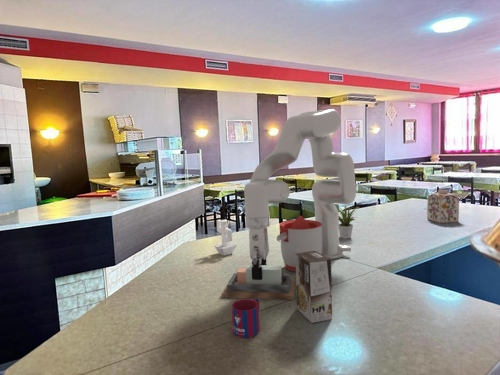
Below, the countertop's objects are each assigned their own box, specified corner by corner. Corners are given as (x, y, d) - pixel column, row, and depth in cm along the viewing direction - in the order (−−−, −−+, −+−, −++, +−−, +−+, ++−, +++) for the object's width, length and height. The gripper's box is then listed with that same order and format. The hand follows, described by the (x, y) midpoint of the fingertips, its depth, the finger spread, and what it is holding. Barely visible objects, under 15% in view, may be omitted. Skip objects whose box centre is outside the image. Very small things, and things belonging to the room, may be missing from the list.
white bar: (282, 283, 110) (281, 265, 109) (281, 288, 106) (280, 269, 105) (240, 282, 112) (239, 264, 111) (237, 287, 108) (236, 269, 108)
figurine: (224, 257, 143) (223, 223, 141) (213, 253, 150) (211, 220, 149) (238, 253, 147) (236, 220, 146) (226, 249, 155) (224, 217, 153)
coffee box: (333, 319, 88) (332, 259, 86) (311, 323, 86) (309, 262, 84) (316, 304, 96) (315, 249, 95) (296, 308, 95) (294, 252, 93)
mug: (227, 333, 83) (226, 306, 83) (251, 316, 91) (250, 292, 90) (249, 341, 79) (247, 313, 79) (271, 322, 87) (271, 297, 87)
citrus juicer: (269, 266, 130) (267, 215, 128) (307, 258, 137) (306, 210, 135) (289, 279, 116) (288, 222, 114) (331, 270, 123) (330, 216, 120)
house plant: (351, 232, 177) (350, 201, 175) (368, 238, 164) (367, 205, 162) (327, 235, 173) (326, 203, 171) (342, 241, 160) (342, 207, 158)
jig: (295, 281, 114) (295, 272, 113) (293, 299, 100) (293, 289, 100) (232, 279, 118) (231, 270, 117) (221, 297, 104) (221, 287, 104)
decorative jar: (426, 219, 199) (427, 189, 198) (444, 218, 201) (445, 188, 199) (440, 223, 188) (440, 191, 186) (459, 222, 189) (460, 190, 187)
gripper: (265, 227, 97) (267, 284, 99) (272, 216, 114) (274, 264, 116) (240, 227, 99) (242, 283, 101) (250, 216, 116) (252, 264, 117)
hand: (259, 273), depth 108 cm, fingers open, 9 cm apart
